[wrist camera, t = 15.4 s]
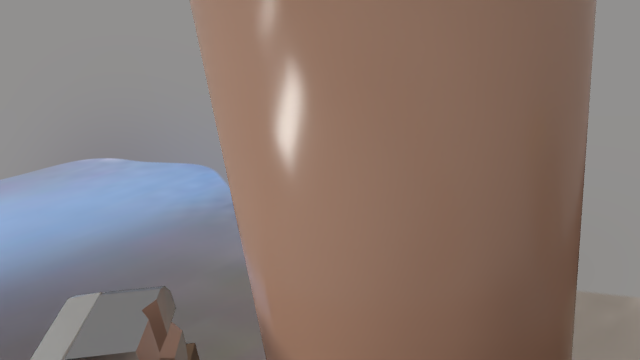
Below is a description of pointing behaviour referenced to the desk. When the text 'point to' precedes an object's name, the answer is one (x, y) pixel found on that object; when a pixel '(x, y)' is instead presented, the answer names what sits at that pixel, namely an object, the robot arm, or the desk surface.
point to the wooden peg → (405, 171)
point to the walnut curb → (192, 352)
